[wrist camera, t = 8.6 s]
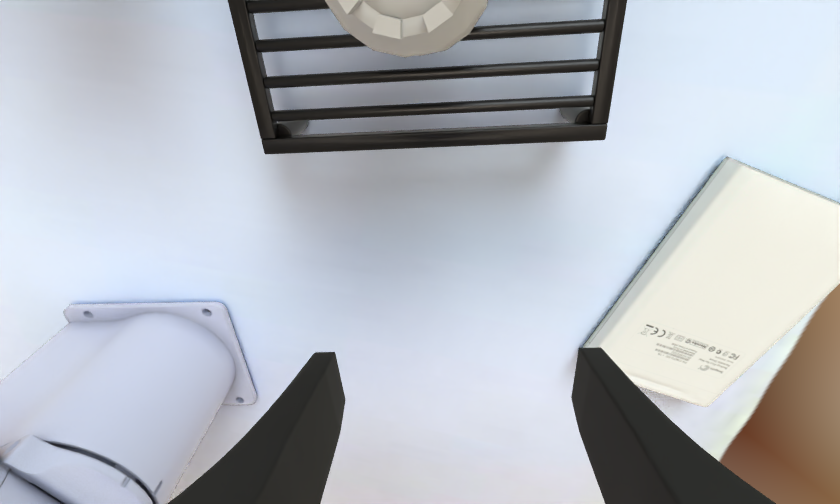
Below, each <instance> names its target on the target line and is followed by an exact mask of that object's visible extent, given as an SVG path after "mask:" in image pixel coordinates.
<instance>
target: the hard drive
mask: <svg viewBox="0 0 840 504" xmlns="http://www.w3.org/2000/svg"><path fill="white" fill-rule="evenodd" d="M839 283H840V203H839V202H836V201H834V200H831V199H829V198H826V197H824V196H822V195H819V194H817V193H814V192H812V191H809V190H807V189H805V188H802V187H800V186H797V185H795V184H792V183H790V182H788V181H785V180H783V179H780V178H778V177H776V176H773V175H771V174H768V173H766V172H764V171H761V170H759V169H756V168H754V167H751V166H749V165H747V164H744V163H742V162H739V161H737V160H735V159H732V158H729V157H726V158H725V159H724V160H723V161H722V163H721V164H720V165H719V167H718V168H717V169H716V170H715V172H714V173H713V175H712V176H711V177H710V178H709V180H708V181H707V183H706V184H705V185H704V187H703V188H702V189H701V190H700V192H699V193H698V194H697V196H696V197H695V198H694V200H693V201H692V202H691V203H690V205H689V206H688V208H687V209H686V210H685V212H684V213H683V214H682V216H681V217H680V218H679V220H678V221H677V222H676V224H675V225H674V226H673V228H672V229H671V230H670V232H669V233H668V234H667V235H666V237H665V238H664V240H663V241H662V242H661V243H660V245H659V246H658V247H657V249H656V250H655V252H654V253H653V254H652V255H651V257H650V258H649V259H648V261H647V262H646V264H645V265H644V266H643V268H642V269H641V270H640V271H639V273H638V274H637V275H636V276H635V278H634V279H633V281H632V282H631V283H630V284H629V286H628V287H627V289H626V290H625V291H624V292H623V294H622V295H621V296H620V298H619V299H618V300H617V302H616V303H615V304H614V306H613V307H612V309H611V310H610V311H609V313H608V314H607V315H606V316H605V318H604V319H603V320H602V322H601V323H600V324H599V326H598V327H597V328H596V330H595V331H594V332H593V334H592V335H591V336H590V338H589V339H588V341H587V342H586V343H585V344H584V346H583V347H582V348H597V347H601V348H602V349H603V350H604V351H605V352H606V353H607V354H608V355H609V357H610V358H611V359H612V360H613V361H614V362H615V363H616V364H617V365H618V367H619V368H620V369H621V370H622V371H623V372H624V373H625V374H626V375H627V376H628V377H629V379H630V380H631V381H632V382H633V383H634V384H635V385H637V386H640V387H643V388H646V389H649V390H652V391H655V392H658V393H661V394H664V395H667V396H671V397H674V398H677V399H680V400H683V401H686V402H689V403H692V404H696V405H699V406H703V407H707V406H709V405H710V404H711V403H712V402H714V401H715V400H716V399H717V398H718V397H719V396H720V395H721V394H722V393H723V392H724V391H725V390H726V389H727V388H728V387H729V386H730V385H731V384H733V383H734V382H735V381H736V380H737V379H738V378H739V377H740V376H741V375H742V374H743V373H744V372H746V371H747V370H748V369H749V368H750V367H751V366H752V365H753V364H754V363H755V362H756V361H757V360H758V359H759V358H760V357H761V356H763V355H764V354H765V353H766V352H767V351H768V350H769V349H770V348H771V347H772V346H773V345H774V344H776V343H777V342H778V341H779V340H780V339H781V338H782V337H783V336H784V335H785V334H786V333H787V332H788V331H789V330H790V329H791V328H793V327H794V326H795V325H796V324H797V323H798V322H799V321H800V320H801V319H802V318H803V317H804V316H805V315H806V314H807V313H809V312H810V311H811V310H812V309H813V308H814V307H815V306H816V305H817V304H818V303H819V302H820V301H821V300H823V299H824V298H825V297H826V296H827V295H828V294H829V293H830V292H831V291H832V290H833V289H834V288H835V287H836V286H837V285H838V284H839Z"/></svg>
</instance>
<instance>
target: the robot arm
mask: <svg viewBox="0 0 840 504" xmlns="http://www.w3.org/2000/svg"><path fill="white" fill-rule="evenodd" d="M206 309H208V310H209V311H210V312H208V311H207V310H206ZM63 313H64V315H65V317H66V319H67V320H68V322H69V324H67V325H66V326H65V327H64V328H63V329H62V330H60V331H59V332H58V333H57V334H56V335H55V336H53V337H52V338H51V339H50V340H49V341H48V342H46V343H45V344H44V345H43V346H42V347H40V348H39V349H38V350H37V351H36V352H35V353H33V354H32V355H31V356H30V357H29V358H28V359H26V360H25V361H24V362H23V363H22V364H21V365H19V366H18V367H17V368H16V369H15V370H14V371H12V372H11V373H10V374H9V375H8V376H7V377H5V378H4V379H3V380H2V381H1V382H0V504H167V502H168V500H169V498H170V496H171V495H172V493H173V491H174V489H175V487H176V486H177V484H178V482H179V480H180V478H181V477H182V475H183V473H184V471H185V469H186V468H187V466H188V464H189V462H190V460H191V459H192V457H193V455H194V453H195V451H196V450H197V448H198V446H199V444H200V442H201V440H202V439H203V437H204V435H205V433H206V431H207V430H208V428H209V426H210V424H211V422H212V421H213V419H214V417H215V415H216V413H217V412H218V410H219V408H220V406H221V405H252V404H254V403H255V401H256V399H257V395H256V392H255V389H254V386H253V383H252V380H251V377H250V375H249V372H248V369H247V366H246V363H245V360H244V357H243V354H242V351H241V349H240V346H239V343H238V340H237V337H236V334H235V331H234V328H233V326H232V323H231V320H230V317H229V314H228V311H227V308H226V307H225V306H224V305H223V304H222V303H220V302H172V303H116V304H71V305H69V306H68V307H66V308H65V309H64V311H63ZM571 398H572V402H573V407H574V411H575V416H576V420H577V424H578V428H579V432H580V435H581V438H582V440H583V443H584V446H585V449H586V452H587V454H588V457H589V460H590V463H591V465H592V468H593V471H594V474H595V476H596V479H597V482H598V485H599V487H600V490H601V493H602V496H603V498H604V501H605V504H776V503H774V502H773V501H771V500H770V499H769V498H767V497H766V496H764V495H763V494H762V493H760V492H759V491H757V490H756V489H755V488H753V487H752V486H750V485H749V484H748V483H746V482H745V481H743V480H742V479H740V478H739V477H738V476H737V475H735V474H734V473H733V472H731V471H730V470H729V469H727V468H726V467H725V466H723V465H722V464H721V463H720V462H719V461H717V460H716V459H715V458H714V457H712V456H711V455H710V454H709V453H707V452H706V451H705V450H704V449H703V448H701V447H700V446H699V445H698V444H697V443H695V442H694V441H693V440H692V439H691V438H690V437H689V436H687V435H686V434H685V433H684V432H683V431H682V430H681V429H680V428H679V427H678V426H677V425H675V424H674V423H673V422H672V421H671V420H670V419H669V418H668V417H667V416H666V415H665V414H664V413H663V412H662V411H661V410H660V409H659V408H658V407H657V406H656V405H655V404H654V403H653V402H652V401H651V400H650V399H649V398H648V397H647V396H646V395H645V394H644V393H643V392H642V391H641V390H640V389H639V388H638V387H637V386H636V385H635V384H634V383H633V382H632V381H631V380H630V379H629V377H628V376H627V375H626V374H625V373H624V372H623V371H622V370H621V369H620V368H619V367H618V365H617V364H616V363H615V362H614V361H613V360H612V359H611V358H610V357H609V355H608V354H607V353H606V352H605V351H604V350H603V349H602V348H601V347H597V348H579V352H578V358H577V365H576V371H575V378H574V384H573V391H572V397H571ZM344 405H345V396H344V392H343V387H342V382H341V378H340V373H339V369H338V364H337V359H336V355H335V352H319V353H314V354H313V355H312V357H311V358H310V359H309V360H308V362H307V363H306V364H305V366H304V367H303V368H302V369H301V371H300V372H299V373H298V375H297V376H296V377H295V378H294V380H293V381H292V382H291V383H290V385H289V386H288V387H287V388H286V390H285V391H284V392H283V393H282V394H281V396H280V397H279V398H278V399H277V400H276V402H275V403H274V404H273V405H272V406H271V407H270V409H269V410H268V411H267V412H266V413H265V414H264V415H263V416H262V418H261V419H260V420H259V421H258V422H257V423H256V424H255V425H254V426H253V427H252V428H251V430H250V431H249V432H248V433H247V434H246V435H245V436H244V437H243V438H242V439H241V440H240V441H239V442H238V443H237V444H236V445H235V446H234V447H233V448H232V449H231V450H230V451H229V452H228V453H227V454H226V455H225V456H224V457H222V458H221V459H220V460H219V461H218V462H217V463H216V464H215V465H214V466H213V467H211V468H210V469H209V470H208V471H207V472H206V473H205V474H203V475H202V476H201V477H200V478H199V479H198V480H196V481H195V482H194V483H193V484H192V485H190V486H189V487H188V488H187V489H186V490H184V491H183V492H182V493H181V494H179V495H178V496H177V497H176V498H174V499H173V500H172V501H170V502H169V503H168V504H320V503H321V499H322V495H323V492H324V488H325V485H326V481H327V478H328V474H329V471H330V467H331V464H332V460H333V457H334V453H335V449H336V446H337V442H338V439H339V435H340V430H341V424H342V418H343V412H344Z"/></svg>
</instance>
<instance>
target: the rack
mask: <svg viewBox="0 0 840 504" xmlns="http://www.w3.org/2000/svg"><path fill="white" fill-rule="evenodd" d="M228 3H229V7H230V11H231V15H232V20H233V24H234V28H235V32H236V36H237V40H238V45H239V49H240V53H241V57H242V61H243V65H244V70H245V74H246V78H247V82H248V86H249V91H250V95H251V99H252V103H253V107H254V111H255V116H256V120H257V124H258V128H259V132H260V136H261V139H262V144H263V149H264V153H265V154H285V153H309V152H332V151H356V150H380V149H404V148H427V147H451V146H475V145H499V144H522V143H546V142H570V141H593V140H605V137H606V131H607V124H606V123H608V118H609V112H610V105H611V99H612V93H613V86H614V80H615V73H616V67H617V61H618V54H619V48H620V42H621V35H622V29H623V22H624V16H625V10H626V3H627V0H604V5H603V12H602V19H593V20H577V21H560V22H544V23H527V24H511V25H495V26H478V27H473V29H472V30H471V32H470V33H469V34H468V35H467V36H465V37H464V38H463V39H461V40H460V41H465V40H482V39H499V38H516V37H533V36H550V35H567V34H584V33H600V35H599V42H598V50H597V57H596V59H579V60H561V61H543V62H525V63H506V64H488V65H470V66H452V67H434V68H415V69H397V70H379V71H361V72H342V73H324V74H306V75H288V76H270V77H267V75H266V71H265V66H264V61H263V57H262V52H278V51H295V50H312V49H329V48H346V47H363V46H366V45H365V44H364V43H362V42H361V41H359V40H358V39H357V38H355V37H354V36H352V35H351V34H347V35H331V36H314V37H298V38H281V39H265V40H259V38H258V34H257V29H256V25H255V20H254V15H253V14H256V13H271V12H286V11H302V10H317V9H330V8H329V6H328V5H327V3H326V2H325V0H228ZM589 71H595V72H594V80H593V87H592V94H591V95H583V96H563V97H543V98H522V99H502V100H482V101H461V102H441V103H421V104H400V105H380V106H360V107H339V108H319V109H299V110H278V111H274V107H273V103H272V98H271V94H270V89H269V88H286V87H305V86H324V85H343V84H362V83H381V82H400V81H419V80H438V79H456V78H475V77H494V76H513V75H532V74H551V73H570V72H589ZM556 108H560V113H561V115H562V116H563V117H564V118H565V119H566V120H567V121H568V122H569V123H554V124H531V125H509V126H487V127H465V128H443V129H420V130H398V131H376V132H354V133H332V134H310V135H299V134H301V133H302V132H303V131H304V130H305V129H306V128H307V126H308V120H324V119H345V118H366V117H387V116H408V115H429V114H450V113H471V112H493V111H514V110H535V109H556Z"/></svg>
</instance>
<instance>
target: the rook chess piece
mask: <svg viewBox="0 0 840 504" xmlns="http://www.w3.org/2000/svg"><path fill="white" fill-rule="evenodd" d="M325 2H326V3H327V5H328V6H329V8H330V9H331V11H332V12H333V14H334V15H335V17H336V18H337V20H338V21H339V23H340V24H341V26H342V27H343V29H344V30H345V31H347V32H348V33H350V34H351V35H352V36H354V37H355V38H357V39H358V40H359V41H361V42H362V43H364V44H365V45H366V46H368V47H369V48H371V49H372V50H374V51H379V52H383V53H388V54H392V55H397V56H401V57H410V56H414V55H417V56H422V55H427V54H431V53H436V52H441V51H445V50H447V49H449V48H450V47H451V46H453V45H454V44H456V43H457V42H458V41H460V40H461V39H463V38H464V37H465V36H467V35H468V34H469V33H470V32H471V30H472V29H473V27H474V26H475V24H476V23H477V21H478V20H479V18H480V17H481V15H482V14H483V12H484V10H485V9H486V7H487V3H488V0H325Z"/></svg>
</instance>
